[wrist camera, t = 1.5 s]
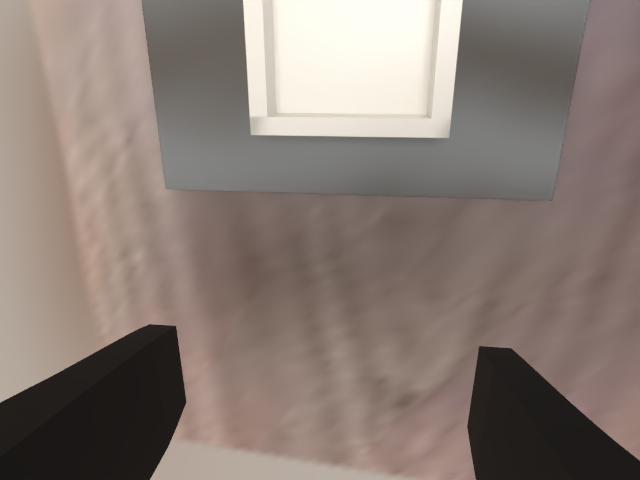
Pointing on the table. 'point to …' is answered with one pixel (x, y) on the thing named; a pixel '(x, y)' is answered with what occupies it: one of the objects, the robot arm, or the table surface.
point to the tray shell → (351, 67)
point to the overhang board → (371, 152)
